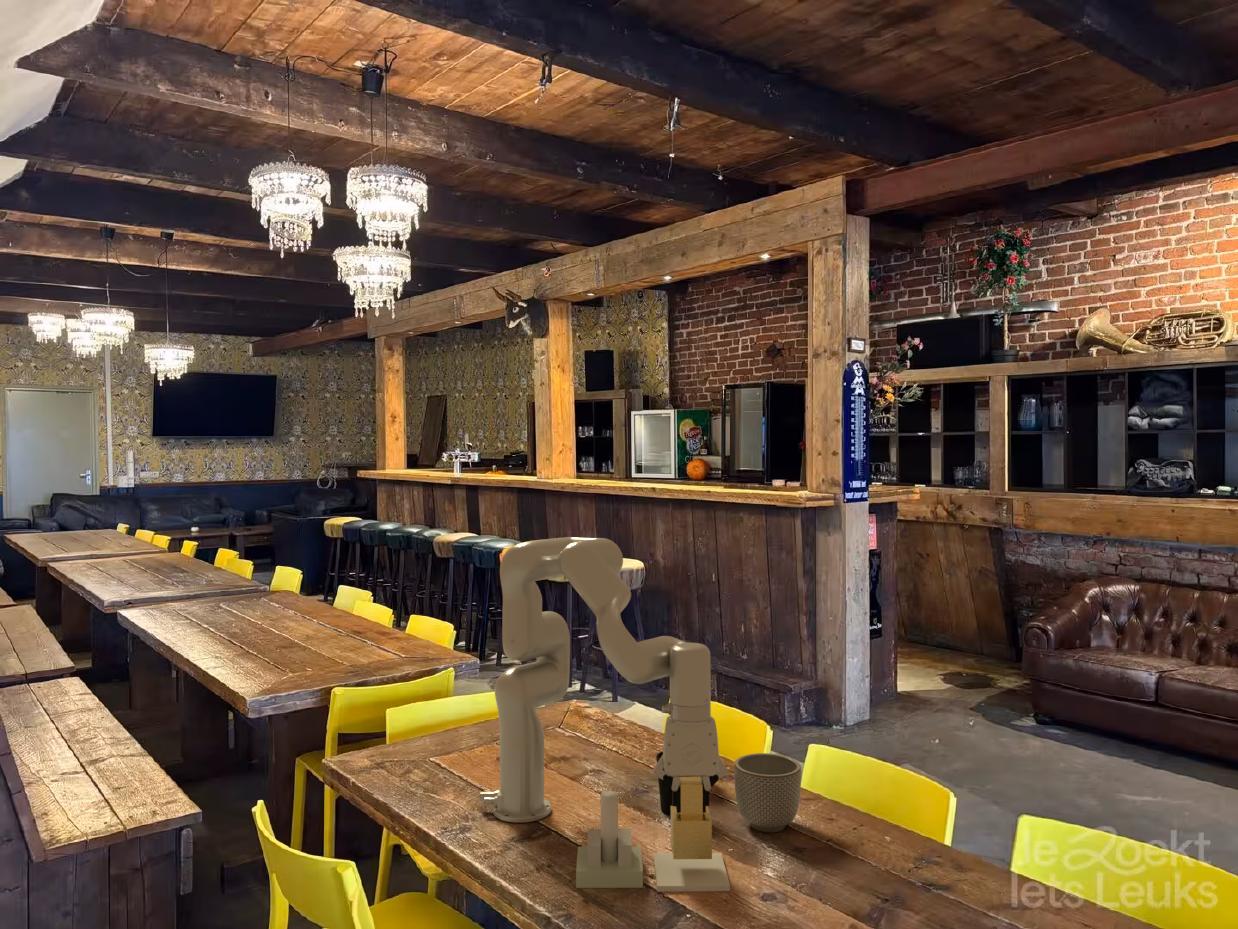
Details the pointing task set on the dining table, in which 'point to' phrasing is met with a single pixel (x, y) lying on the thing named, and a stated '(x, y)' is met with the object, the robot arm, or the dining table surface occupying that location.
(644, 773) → the dining table surface
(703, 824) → the stepped wooden tower
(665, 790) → the cup
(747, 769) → the planter
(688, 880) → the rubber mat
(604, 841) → the vise
